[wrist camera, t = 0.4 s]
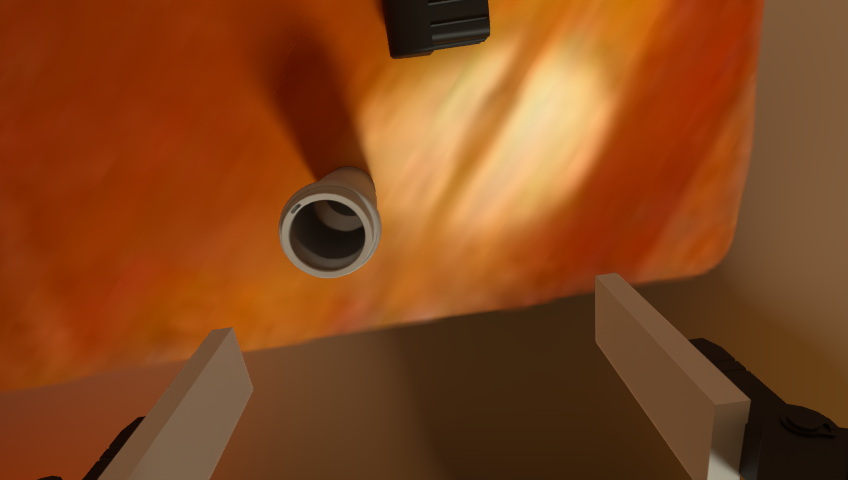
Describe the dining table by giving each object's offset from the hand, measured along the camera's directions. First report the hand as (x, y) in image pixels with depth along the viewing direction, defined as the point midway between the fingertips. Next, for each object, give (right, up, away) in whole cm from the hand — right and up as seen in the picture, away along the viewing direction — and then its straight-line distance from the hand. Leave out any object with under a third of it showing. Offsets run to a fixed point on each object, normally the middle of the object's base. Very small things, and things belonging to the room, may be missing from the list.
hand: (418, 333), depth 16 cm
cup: (-6, +8, +24) cm, 26 cm away
